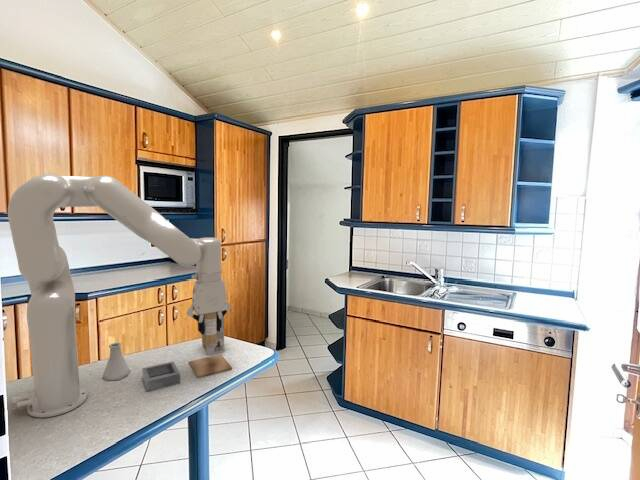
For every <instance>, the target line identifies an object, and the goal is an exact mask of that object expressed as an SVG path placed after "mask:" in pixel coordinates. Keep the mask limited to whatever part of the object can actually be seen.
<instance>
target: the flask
mask: <svg viewBox="0 0 640 480" xmlns="http://www.w3.org/2000/svg"><path fill="white" fill-rule="evenodd" d="M121 346H122V342H112V343H110V344H109V345H108V348H109V356H108V361H107V364H106V367H105V369H104V371H103V375H102V377H101V378H102V379H103V380H106V381H108V382H109V381H119V380H121V379H123V378H126V377H128V376H129V374H130V372H131V369H130V367H129V365H128V363H127V362H126V360H125V358H124V356H123V353H122V348H121Z"/></svg>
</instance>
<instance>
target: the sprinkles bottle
mask: <svg viewBox="0 0 640 480" xmlns="http://www.w3.org/2000/svg"><path fill="white" fill-rule="evenodd" d="M203 322H204V335H203V343H204V344H207V345H211V344H215V343H216V342H217V314H216V312H215V313H209V314H204V317H203Z"/></svg>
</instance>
